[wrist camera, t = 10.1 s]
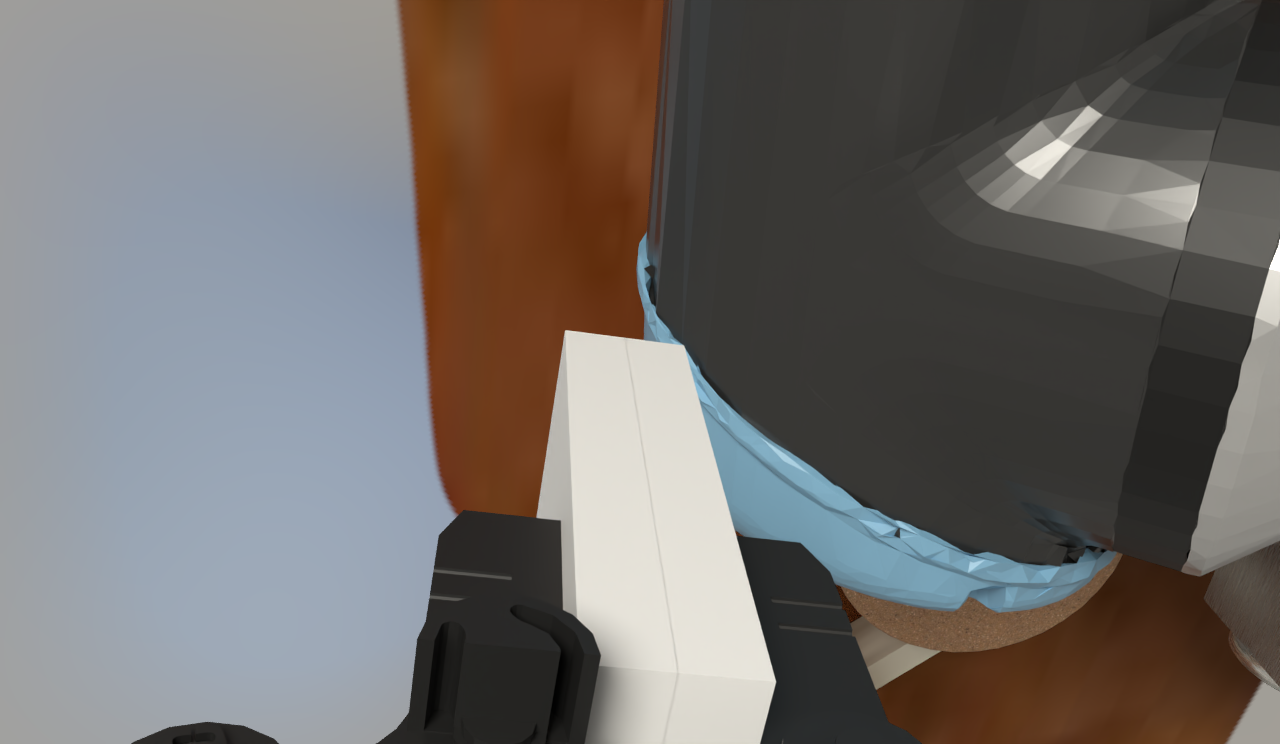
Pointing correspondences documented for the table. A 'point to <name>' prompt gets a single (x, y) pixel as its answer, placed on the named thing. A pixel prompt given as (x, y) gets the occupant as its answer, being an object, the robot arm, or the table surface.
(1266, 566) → the dial indicator
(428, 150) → the table surface
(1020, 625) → the lidded jar
